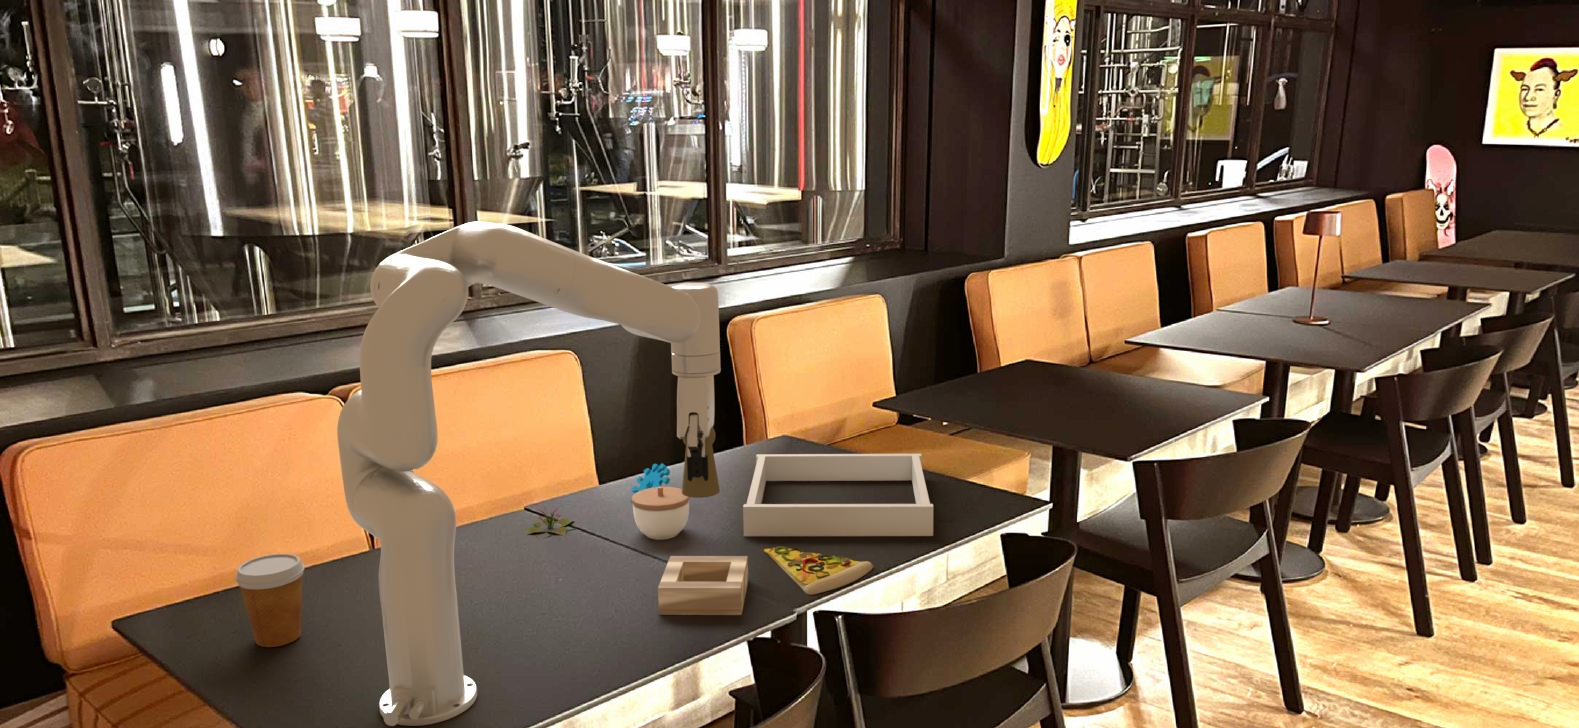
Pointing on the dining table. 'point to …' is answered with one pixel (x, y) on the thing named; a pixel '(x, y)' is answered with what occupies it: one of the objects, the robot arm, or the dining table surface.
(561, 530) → the lily flower
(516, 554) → the dining table surface
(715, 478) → the cork
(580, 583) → the dining table surface
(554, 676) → the dining table surface
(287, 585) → the disposable coffee cup
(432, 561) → the robot arm
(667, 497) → the lidded jar
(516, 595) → the dining table surface
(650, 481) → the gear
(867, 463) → the white rectangular frame
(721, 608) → the caddy
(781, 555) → the pizza slice
